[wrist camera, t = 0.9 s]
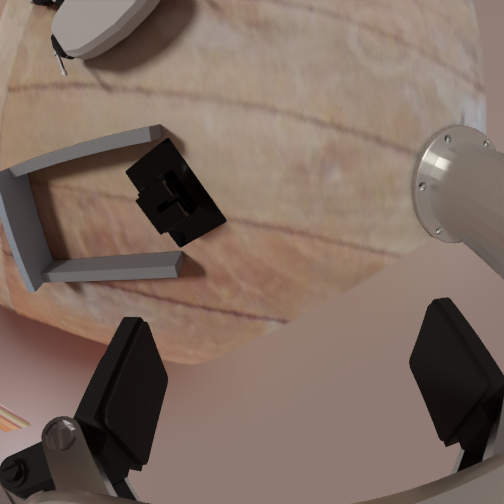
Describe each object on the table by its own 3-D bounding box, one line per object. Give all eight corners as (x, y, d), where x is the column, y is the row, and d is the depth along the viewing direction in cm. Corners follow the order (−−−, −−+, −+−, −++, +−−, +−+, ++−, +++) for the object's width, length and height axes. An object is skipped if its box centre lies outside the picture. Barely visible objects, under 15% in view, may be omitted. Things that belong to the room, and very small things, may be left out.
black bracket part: (242, 226, 29) (239, 248, 25) (182, 260, 31) (171, 286, 27) (167, 117, 24) (150, 121, 20) (110, 163, 26) (87, 175, 22)
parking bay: (160, 124, 24) (139, 128, 19) (184, 261, 30) (172, 289, 25) (18, 163, 25) (-10, 176, 20) (49, 269, 31) (28, 291, 26)
